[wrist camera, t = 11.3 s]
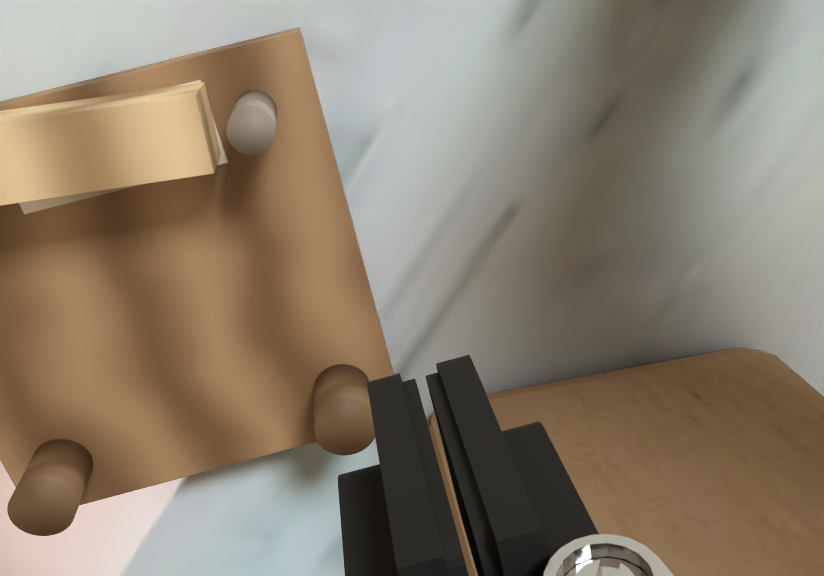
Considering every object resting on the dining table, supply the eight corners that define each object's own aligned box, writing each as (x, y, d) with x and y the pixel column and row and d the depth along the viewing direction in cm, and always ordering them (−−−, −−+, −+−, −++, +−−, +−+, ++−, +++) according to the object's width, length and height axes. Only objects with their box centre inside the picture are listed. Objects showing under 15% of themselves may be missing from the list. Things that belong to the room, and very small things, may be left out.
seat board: (299, 27, 37) (299, 42, 31) (400, 399, 46) (415, 464, 40) (-154, 140, 36) (-240, 177, 30) (43, 494, 45) (6, 575, 40)
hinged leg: (204, 82, 35) (195, 95, 32) (220, 154, 36) (213, 173, 33) (-20, 113, 34) (-51, 130, 31) (6, 186, 36) (-22, 208, 32)
